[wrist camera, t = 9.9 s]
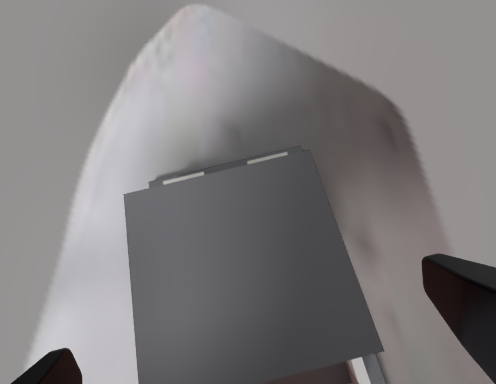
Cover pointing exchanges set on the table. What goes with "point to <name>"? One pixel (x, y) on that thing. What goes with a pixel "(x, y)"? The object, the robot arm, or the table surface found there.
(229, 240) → the cap
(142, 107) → the table surface
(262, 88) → the table surface
